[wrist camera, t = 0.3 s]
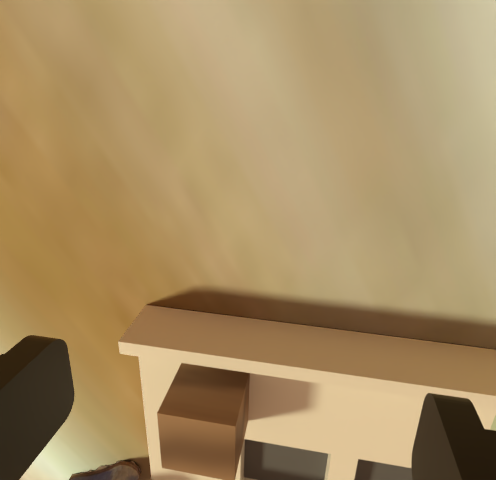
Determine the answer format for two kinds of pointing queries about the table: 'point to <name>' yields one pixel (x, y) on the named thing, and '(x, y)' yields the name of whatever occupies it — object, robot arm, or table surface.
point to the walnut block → (204, 421)
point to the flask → (111, 472)
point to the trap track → (310, 391)
